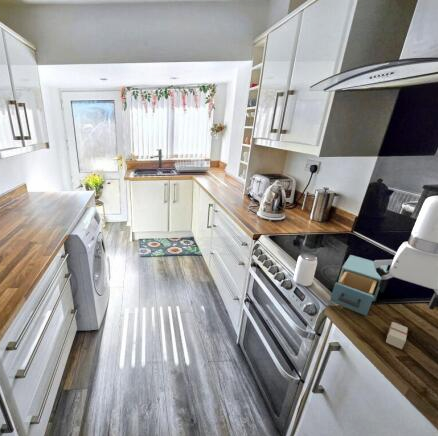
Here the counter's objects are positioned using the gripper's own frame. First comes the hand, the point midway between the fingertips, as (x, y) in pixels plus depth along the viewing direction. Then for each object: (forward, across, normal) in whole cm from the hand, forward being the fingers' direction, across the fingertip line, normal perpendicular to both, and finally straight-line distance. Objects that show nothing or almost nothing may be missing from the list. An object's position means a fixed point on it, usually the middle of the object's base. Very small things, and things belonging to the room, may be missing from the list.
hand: (405, 298), depth 67 cm
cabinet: (+14, +11, -23) cm, 30 cm away
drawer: (+13, +11, -8) cm, 19 cm away
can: (+15, +27, -11) cm, 33 cm away
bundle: (+14, -2, 0) cm, 14 cm away
